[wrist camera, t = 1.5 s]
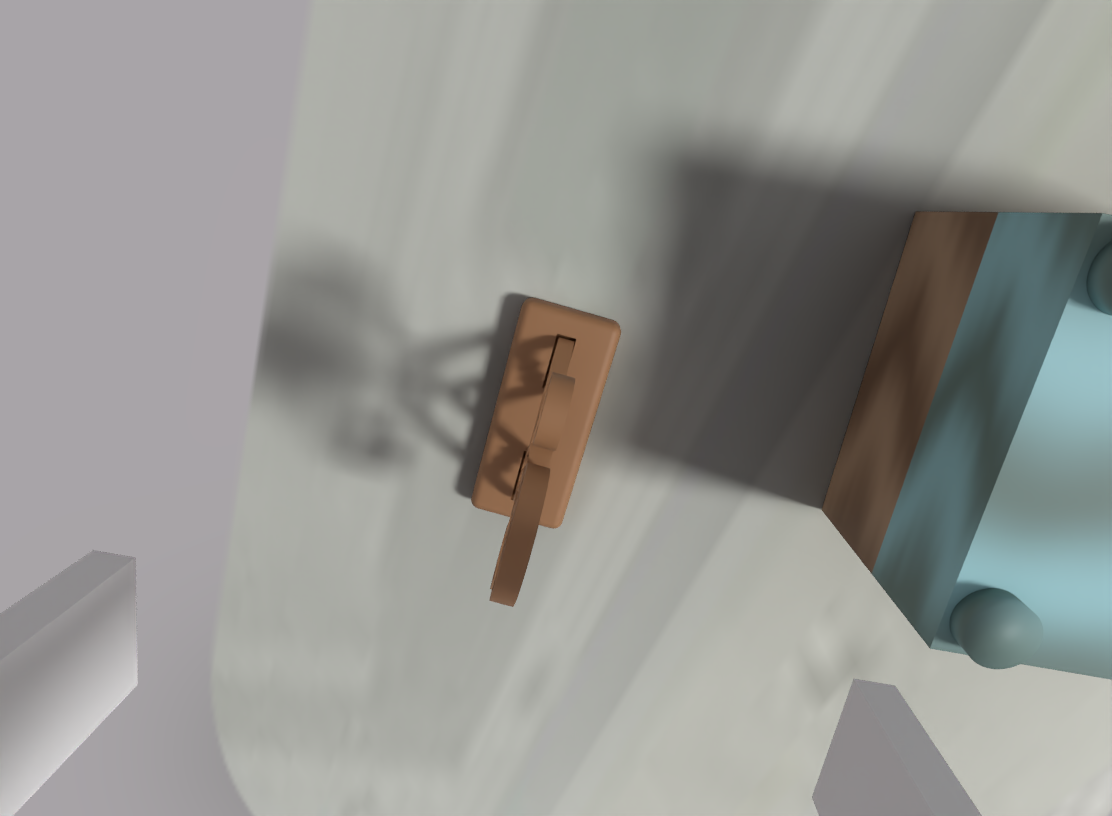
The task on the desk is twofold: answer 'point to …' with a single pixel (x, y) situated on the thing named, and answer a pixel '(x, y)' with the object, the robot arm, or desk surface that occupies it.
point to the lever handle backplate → (541, 427)
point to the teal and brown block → (991, 440)
